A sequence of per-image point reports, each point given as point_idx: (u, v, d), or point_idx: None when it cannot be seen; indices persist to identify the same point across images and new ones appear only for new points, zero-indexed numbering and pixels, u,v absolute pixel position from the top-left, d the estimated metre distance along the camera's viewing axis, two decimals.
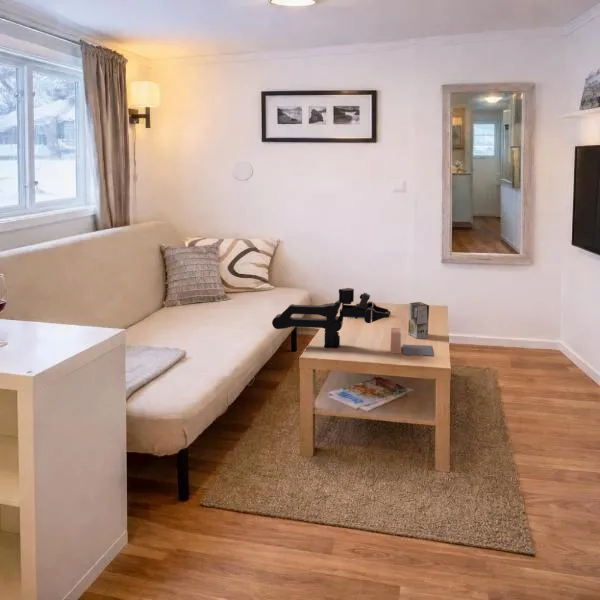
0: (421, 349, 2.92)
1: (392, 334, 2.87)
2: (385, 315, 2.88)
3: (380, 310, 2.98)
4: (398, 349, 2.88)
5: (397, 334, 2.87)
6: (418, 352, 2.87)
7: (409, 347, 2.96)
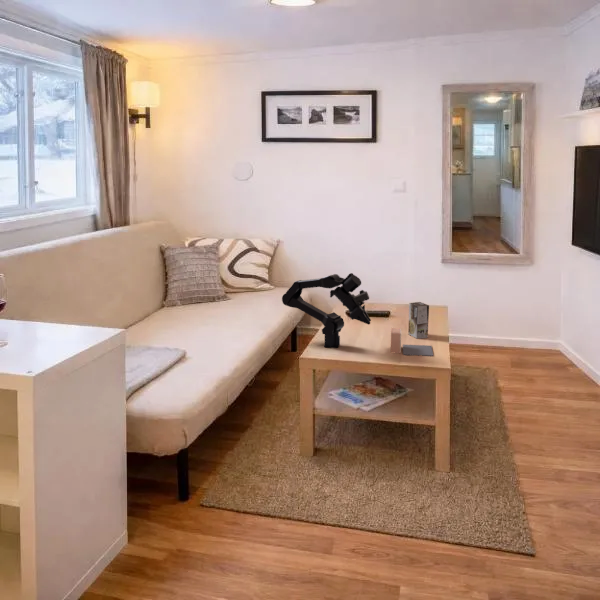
0: (421, 349, 2.92)
1: (392, 334, 2.87)
2: (368, 322, 2.90)
3: None
4: (398, 349, 2.88)
5: (397, 334, 2.87)
6: (418, 352, 2.87)
7: (409, 347, 2.96)
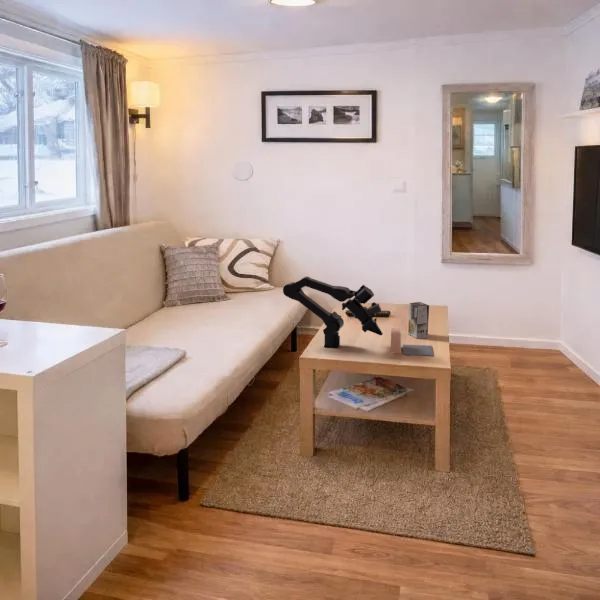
0: (421, 349, 2.92)
1: (392, 334, 2.87)
2: (380, 333, 2.92)
3: None
4: (398, 349, 2.88)
5: (397, 334, 2.87)
6: (418, 352, 2.87)
7: (409, 347, 2.96)
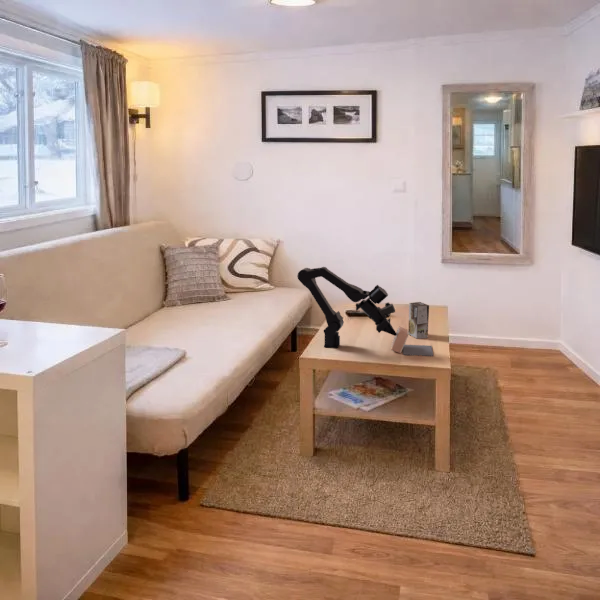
0: (421, 349, 2.92)
1: (399, 333, 2.87)
2: (394, 333, 2.91)
3: None
4: (399, 349, 2.88)
5: (404, 335, 2.86)
6: (418, 352, 2.87)
7: (409, 347, 2.96)
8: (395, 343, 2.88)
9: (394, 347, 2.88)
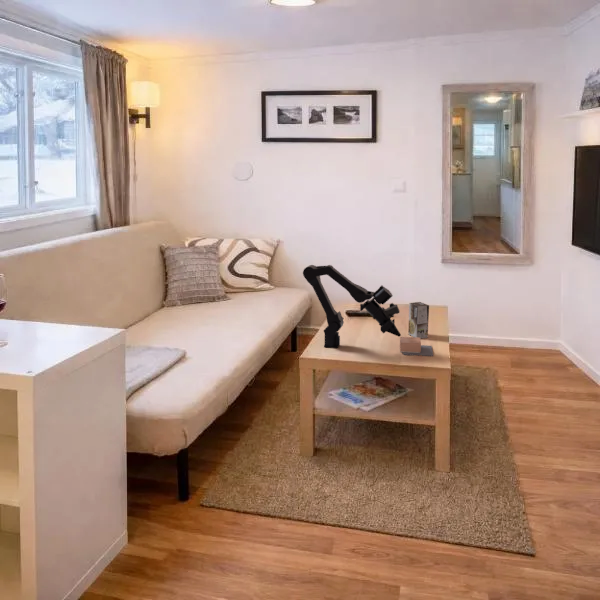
0: (421, 349, 2.92)
1: (419, 344, 2.86)
2: (398, 334, 2.91)
3: None
4: (403, 350, 2.88)
5: (419, 349, 2.87)
6: None
7: None
8: (407, 344, 2.87)
9: (403, 344, 2.87)
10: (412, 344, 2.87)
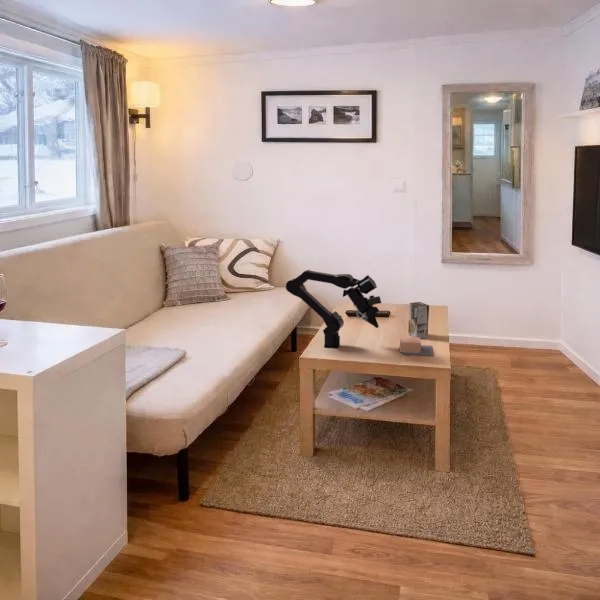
0: (421, 349, 2.92)
1: (419, 344, 2.86)
2: (376, 325, 2.92)
3: None
4: (403, 350, 2.88)
5: (419, 349, 2.87)
6: None
7: None
8: (407, 344, 2.87)
9: (403, 344, 2.87)
10: (412, 344, 2.87)
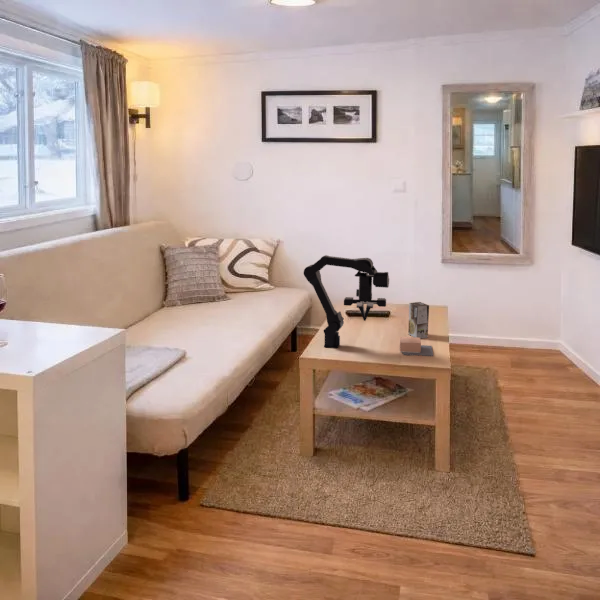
0: (421, 349, 2.92)
1: (419, 344, 2.86)
2: None
3: None
4: (403, 350, 2.88)
5: (419, 349, 2.87)
6: None
7: None
8: (407, 344, 2.87)
9: (403, 344, 2.87)
10: (412, 344, 2.87)
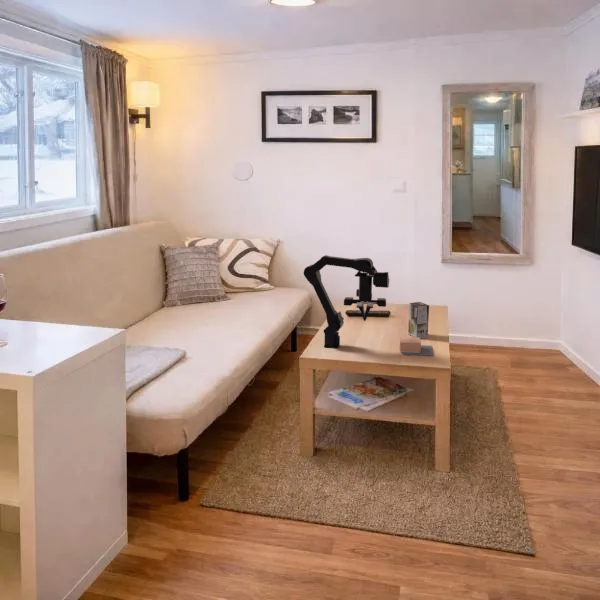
0: (421, 349, 2.92)
1: (419, 344, 2.86)
2: None
3: None
4: (403, 350, 2.88)
5: (419, 349, 2.87)
6: None
7: None
8: (407, 344, 2.87)
9: (403, 344, 2.87)
10: (412, 344, 2.87)
